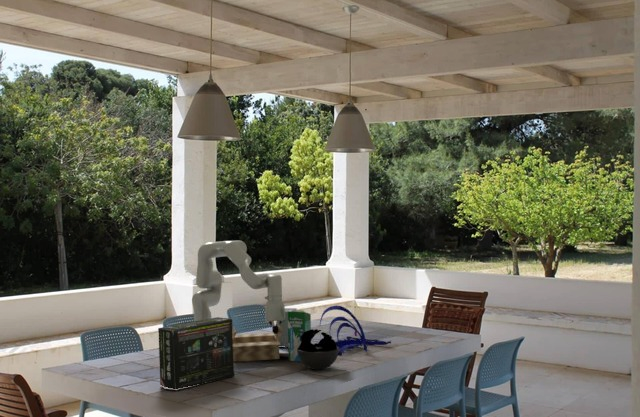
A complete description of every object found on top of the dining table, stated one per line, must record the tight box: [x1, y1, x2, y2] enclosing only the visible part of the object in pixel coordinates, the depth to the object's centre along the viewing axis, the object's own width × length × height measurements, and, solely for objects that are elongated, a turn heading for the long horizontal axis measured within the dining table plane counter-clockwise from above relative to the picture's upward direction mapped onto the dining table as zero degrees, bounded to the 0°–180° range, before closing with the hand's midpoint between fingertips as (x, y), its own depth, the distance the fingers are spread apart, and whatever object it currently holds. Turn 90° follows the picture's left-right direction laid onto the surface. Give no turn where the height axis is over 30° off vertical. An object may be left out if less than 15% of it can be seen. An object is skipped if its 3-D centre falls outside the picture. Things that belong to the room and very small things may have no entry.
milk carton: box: [287, 309, 312, 362], centre depth 379 cm, size 9×9×25 cm
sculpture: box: [319, 305, 392, 356], centre depth 405 cm, size 35×34×26 cm
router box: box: [157, 316, 235, 389], centre depth 335 cm, size 36×11×27 cm, turn 140°
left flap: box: [232, 325, 237, 341], centre depth 385 cm, size 1×17×6 cm, turn 11°
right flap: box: [273, 326, 283, 340], centre depth 390 cm, size 1×17×6 cm, turn 11°
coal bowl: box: [297, 328, 340, 371], centre depth 356 cm, size 20×20×19 cm
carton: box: [233, 332, 281, 363], centre depth 387 cm, size 24×32×9 cm
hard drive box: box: [279, 307, 298, 347], centre depth 416 cm, size 16×8×20 cm, turn 168°
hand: (275, 333), depth 389 cm, fingers closed
